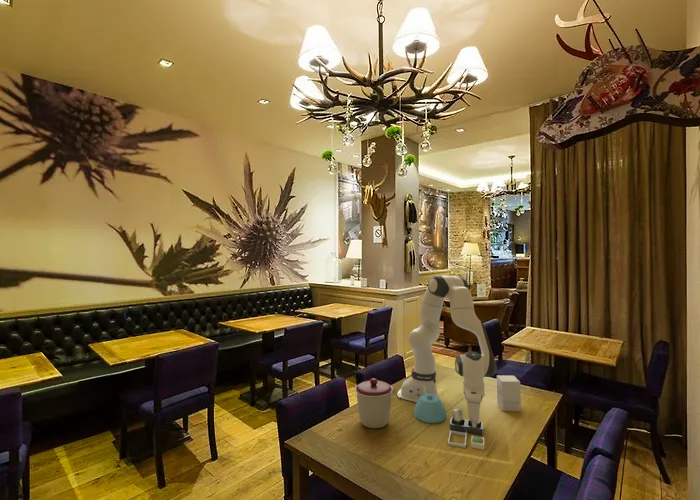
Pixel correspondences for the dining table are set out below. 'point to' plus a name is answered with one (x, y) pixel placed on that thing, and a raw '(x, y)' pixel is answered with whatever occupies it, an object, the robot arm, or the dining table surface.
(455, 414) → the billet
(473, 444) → the box
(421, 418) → the sugar bowl
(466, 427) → the dark two-compartment tray
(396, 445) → the dining table surface
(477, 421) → the cylinder
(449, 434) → the tote
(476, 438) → the button
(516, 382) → the supplement box
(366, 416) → the canister
